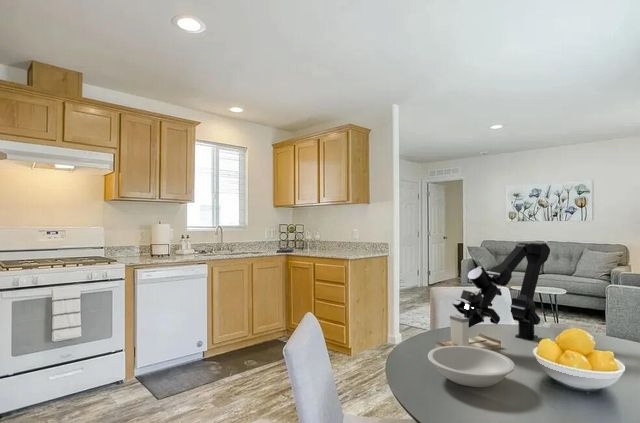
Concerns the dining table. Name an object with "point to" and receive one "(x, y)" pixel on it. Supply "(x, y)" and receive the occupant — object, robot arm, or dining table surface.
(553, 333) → the white cup
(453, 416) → the dining table surface
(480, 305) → the robot arm
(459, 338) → the cream rectangular box
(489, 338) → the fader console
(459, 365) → the soup bowl
